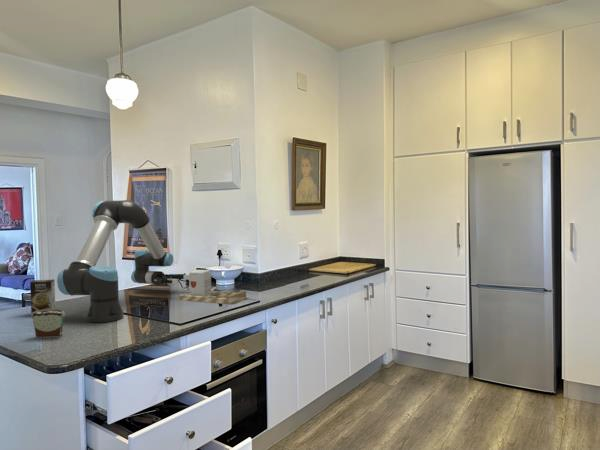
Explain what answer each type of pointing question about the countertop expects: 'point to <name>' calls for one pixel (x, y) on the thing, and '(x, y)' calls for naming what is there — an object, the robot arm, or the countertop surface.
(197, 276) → the supplement box
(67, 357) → the countertop surface
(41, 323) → the food container
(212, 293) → the wooden cutting board
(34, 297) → the coffee box
